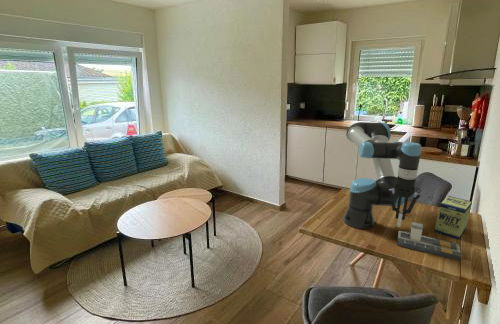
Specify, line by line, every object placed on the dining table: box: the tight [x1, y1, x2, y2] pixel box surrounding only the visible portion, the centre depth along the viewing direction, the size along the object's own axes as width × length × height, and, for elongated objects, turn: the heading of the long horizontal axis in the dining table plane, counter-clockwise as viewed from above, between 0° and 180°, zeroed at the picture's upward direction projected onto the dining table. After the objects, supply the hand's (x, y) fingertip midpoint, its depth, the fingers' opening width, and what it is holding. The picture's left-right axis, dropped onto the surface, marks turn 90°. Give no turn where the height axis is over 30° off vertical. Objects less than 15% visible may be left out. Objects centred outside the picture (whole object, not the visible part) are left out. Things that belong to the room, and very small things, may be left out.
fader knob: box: [410, 221, 424, 242], centre depth 135 cm, size 4×5×7 cm
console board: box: [396, 229, 462, 262], centre depth 134 cm, size 24×12×3 cm, turn 62°
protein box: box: [434, 195, 473, 240], centre depth 146 cm, size 10×16×16 cm
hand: (398, 225), depth 137 cm, fingers closed
